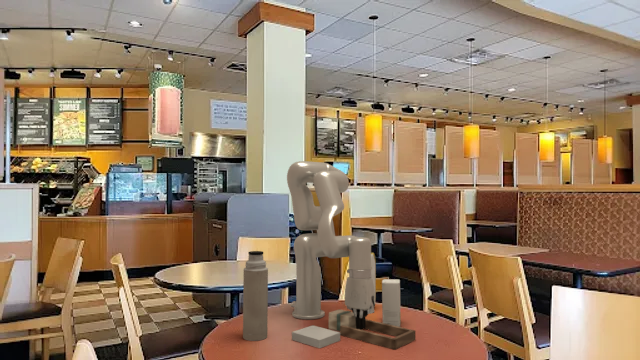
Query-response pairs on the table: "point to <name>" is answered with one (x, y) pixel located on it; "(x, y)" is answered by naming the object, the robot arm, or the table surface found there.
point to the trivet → (316, 336)
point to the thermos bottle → (255, 297)
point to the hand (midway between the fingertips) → (360, 328)
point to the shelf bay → (400, 340)
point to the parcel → (341, 319)
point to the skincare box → (391, 301)
